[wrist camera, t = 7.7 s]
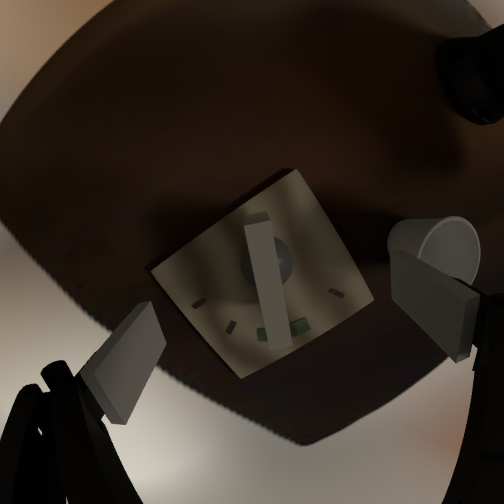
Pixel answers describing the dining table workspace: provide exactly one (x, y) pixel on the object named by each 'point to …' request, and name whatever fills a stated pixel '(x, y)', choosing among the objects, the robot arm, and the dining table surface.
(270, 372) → the dining table surface
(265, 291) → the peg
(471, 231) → the cup
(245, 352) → the board
